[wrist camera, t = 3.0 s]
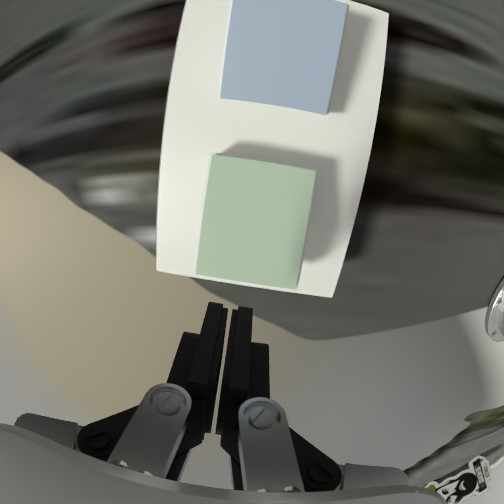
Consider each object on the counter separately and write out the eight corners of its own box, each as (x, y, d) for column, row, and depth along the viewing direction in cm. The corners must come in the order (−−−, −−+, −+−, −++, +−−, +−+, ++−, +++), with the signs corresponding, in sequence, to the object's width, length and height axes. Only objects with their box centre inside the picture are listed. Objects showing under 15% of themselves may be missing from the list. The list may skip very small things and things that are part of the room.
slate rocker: (343, 7, 11) (351, 1, 10) (323, 113, 16) (328, 119, 14) (237, -10, 11) (231, -18, 10) (222, 96, 15) (215, 101, 14)
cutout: (498, 482, 35) (424, 526, 41) (498, 483, 36) (426, 526, 41) (481, 448, 49) (412, 491, 55) (481, 450, 50) (414, 492, 56)
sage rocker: (312, 171, 17) (319, 167, 15) (293, 283, 18) (298, 293, 16) (214, 155, 17) (209, 150, 15) (198, 269, 18) (191, 277, 16)
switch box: (366, 32, 17) (393, 9, 12) (321, 267, 25) (334, 304, 20) (203, 6, 17) (184, -24, 11) (172, 244, 25) (149, 275, 20)
